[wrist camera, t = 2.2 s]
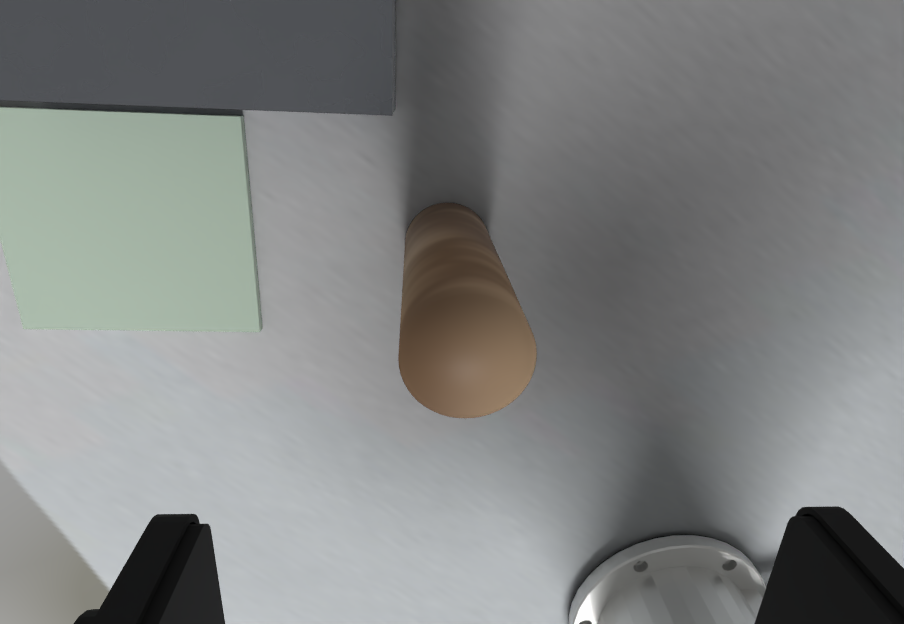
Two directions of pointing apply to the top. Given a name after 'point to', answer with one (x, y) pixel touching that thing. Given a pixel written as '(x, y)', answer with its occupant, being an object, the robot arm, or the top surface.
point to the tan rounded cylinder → (460, 318)
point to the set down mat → (128, 220)
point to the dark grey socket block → (202, 54)
